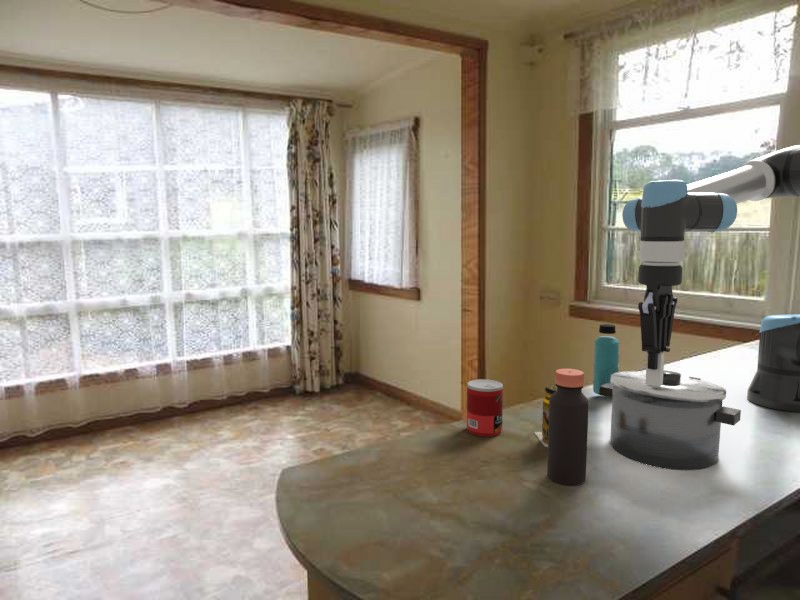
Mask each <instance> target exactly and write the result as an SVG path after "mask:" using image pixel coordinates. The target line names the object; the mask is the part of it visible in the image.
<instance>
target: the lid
mask: <svg viewBox="0 0 800 600" xmlns="http://www.w3.org/2000/svg"><path fill="white" fill-rule="evenodd" d="M611 383H612V384H613V385H614V386H616V387H619V388H621V389H624V390H627V391H630V392H634V393H638V394H642V395H647V396H652V397H658V398H664V399H672V400H680V401H693V402H714V401H721V400H722V401H724V400H725V399H726V398H727V390H726V388H724V387H723V386H722V385H721V386H720V385H718V384H716V383H712V382H710V381H705V380H701V378H700V377H699V378H698V377H694V376H688V375H684V374H683V375H682V374H681V373H679V372H676V371H671V370H665V369H664V371H663V385H662V386H660V387H659V386H654V385H649V384H645V383H646V371H619V372H617V373H613V374H612V375H611Z"/></svg>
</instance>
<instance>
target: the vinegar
mask: <svg viewBox="0 0 800 600" xmlns="http://www.w3.org/2000/svg"><path fill="white" fill-rule="evenodd" d="M554 373H555V376H554V378H555V379H554V383H555V386H556V387H557V390H556V391H555V392H554V393H553V394H552V395H551V396H550V399H549V428H548V447H547V466H546V467H547V468H546V469H547V471H546V472H547V473H546V474H547V477H548V479H549V480H551V482H553V483H555V484H558V485H562V486H568V487H574V486H575V487H577V486H580V485H582V484H584V483H585V482H586V480H587V461H588V460H587V458H588V457H587V454H588V433H589V432H588V430H589V403H590V402H589V399H588V398H587V396H585V394H584V392H582V391H583V389H584V382H585V372H584V371H583V370H579V369H574V368H558V369H556V370H555V371H554Z"/></svg>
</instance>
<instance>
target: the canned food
mask: <svg viewBox="0 0 800 600" xmlns="http://www.w3.org/2000/svg"><path fill="white" fill-rule="evenodd" d="M466 384H467V385H466V386H467V387H466V429H467V431H468V433H470V434H472V435H475V436H478V437H487V438H488V437H496V436H498V435H500V434H501V433H502V430H503V415H504V414H503V411H504V409H503V407H504V406H503V405H504V403H503V402H504V400H503V399H504V398H503V397H504V387H503V383H502V382H500V381H497V380H495V379H494V380H493V379H482V378H479V379H473V380H470V381H468V382H467V383H466Z"/></svg>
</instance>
